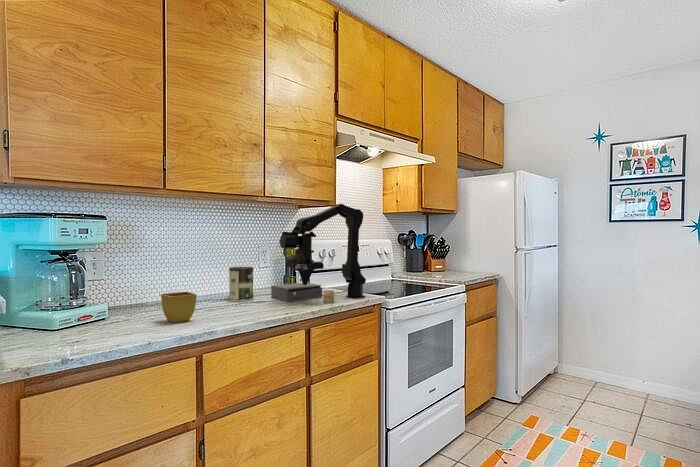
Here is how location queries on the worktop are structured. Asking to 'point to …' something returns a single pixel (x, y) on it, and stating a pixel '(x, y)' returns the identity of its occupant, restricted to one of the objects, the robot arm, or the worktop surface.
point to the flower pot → (178, 306)
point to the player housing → (281, 290)
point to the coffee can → (240, 284)
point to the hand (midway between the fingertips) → (304, 285)
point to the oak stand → (328, 296)
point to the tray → (304, 294)
